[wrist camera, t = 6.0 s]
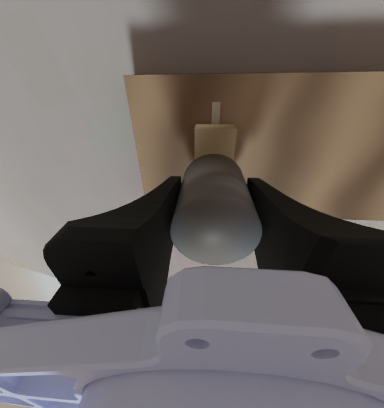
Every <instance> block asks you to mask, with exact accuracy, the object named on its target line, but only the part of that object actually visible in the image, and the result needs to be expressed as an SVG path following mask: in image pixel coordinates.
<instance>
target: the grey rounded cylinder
mask: <svg viewBox="0 0 384 408" xmlns="http://www.w3.org/2000/svg"><path fill="white" fill-rule="evenodd" d="M236 136H237V128H236V126H235V125H234V124H196V126H195V160H194V161H193V162H191V163H190V165H189V166H188V167H187V169H186V170H185V173H184V176H183V180H182V184H181V188H180V192H179V196H178V200H177V204H176V208H175V212H174V216H173V220H172V224H171V229H170V234H171V239H172V242H173V244H174V245H175V247H176V248H177V250H178V251H179V252H180V253H182V254H183V255H184V256H186V257H187V258H189V259H191V260H193V261H196V262H199V263H202V264H208V265H224V264H229V263H233V262H236V261H239V260H241V259H243V258H245V257H246V256H248V255H249V254H251V253H252V252H253V251H254V250H255V248H256V247H257V246H258V244H259V242H260V240H261V236H262V226H261V222H260V220H259V217H258V214H257V212H256V209H255V206H254V203H253V201H252V198H251V195H250V193H249V190H248V187H247V184H246V182H245V179H244V176H243V174H242V171H241V169H240V167H239V166H238V164H237V163H236V162H235V161H234V153H235V145H236Z"/></svg>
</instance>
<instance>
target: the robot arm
mask: <svg viewBox="0 0 384 408" xmlns="http://www.w3.org/2000/svg"><path fill="white" fill-rule="evenodd" d="M247 187H248V190H249V193H250V195H251V198H252V201H253V203H254V206H255V209H256V212H257V214H258V217H259V220H260V222H261V226H262V236H261V240H260V242H259V244H258V246H257V247H256V248H255V250H254V251H255V255H256V260H257V265H258V269H251V268H232V267H213V266H201V267H193V268H185V269H183V270H181V271H180V272H178V273H176V274H175V275H173V276H171V277H170V278H168V271H169V264H170V258H171V252H172V247H173V242H172V239H171V234H170V229H171V224H172V220H173V216H174V212H175V208H176V204H177V200H178V196H179V192H180V188H181V176H170V177H169V178H168V179H166V180H165V181H164V182H163V183H161V184H160V185H159V186H157V187H156V188H155V189H153V190H152V191H150V192H149V193H147V194H146V195H144V196H142V197H141V198H139V199H137V200H135V201H133V202H131V203H129V204H126V205H124V206H122V207H119V208H117V209H114V210H111V211H108V212H105V213H102V214H98V215H95V216H91V217H87V218H82V219H78V220H73V221H68V222H67V223H66V224H65V225H64V226H63V227H62V228H61V229H60V230H59V231H58V232H57V233H56V234H55V235H54V236H53V237H52V238H51V239H50V241H49V242H48V243H47V244H46V245H45V247H44V249H43V255H44V259H45V261H46V263H47V265H48V267H49V268H50V269H51V271H52V272H53V274H54V275H55V277H56V278H57V279H58V281H59V282H60V284H61V286H60V288H59V289H58V291H57V292H56V293H55V295H54V296H53V298H52V299H51V300H50V302H45V301H30V300H15V299H12V298H11V296H10V295H9V294H8V293H7V292H6V291H5V290H4V289H1V288H0V403H5V404H12V405H18V406H24V407H31V408H384V230H379V229H375V228H371V227H366V226H363V225H359V224H356V223H352V222H349V221H345V220H342V219H339V218H336V217H333V216H330V215H328V214H325V213H322V212H320V211H317V210H315V209H312V208H310V207H308V206H306V205H304V204H302V203H299V202H298V201H296V200H294V199H292V198H290V197H288V196H287V195H285V194H283V193H282V192H280V191H279V190H277V189H275V188H274V187H272V186H271V185H269V184H268V183H266V182H265V181H263V180H262V179H260V178H248V179H247ZM167 278H168V281H167Z"/></svg>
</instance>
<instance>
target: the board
mask: <svg viewBox="0 0 384 408" xmlns="http://www.w3.org/2000/svg"><path fill="white" fill-rule="evenodd" d="M124 81H125V87H126V92H127V98H128V103H129V109H130V115H131V120H132V126H133V131H134V137H135V143H136V148H137V154H138V159H139V165H140V171H141V176H142V182H143V187H144V193H145V195H146V194H147V193H149V192H150V191H152V190H153V189H155V188H156V187H157V186H159V185H160V184H161V183H163V182H164V181H165V180H166V179H168V178H169V177H170V176H181V184H182V180H183V176H184V173H185V170H186V169H187V167H188V166H189V165H190V163H191V162H193V161H194V160H195V126H196V124H234V125H235V126H236V128H237V136H236V145H235V153H234V161H235V162H236V163H237V164H238V166H239V167H240V169H241V171H242V174H243V176H244V179H245V182H246V184H247V179H248V178H260V179H262V180H263V181H265V182H266V183H268V184H269V185H271V186H272V187H274V188H275V189H277V190H279V191H280V192H282V193H283V194H285V195H287V196H288V197H290V198H292V199H294V200H296V201H298V202H299V203H302V204H304V205H306V206H308V207H310V208H312V209H315V210H317V211H320V212H322V213H325V214H328V215H330V216H333V217H336V218H339V219H351V220H380V221H384V71H382V72H312V73H242V74H172V75H124Z"/></svg>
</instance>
